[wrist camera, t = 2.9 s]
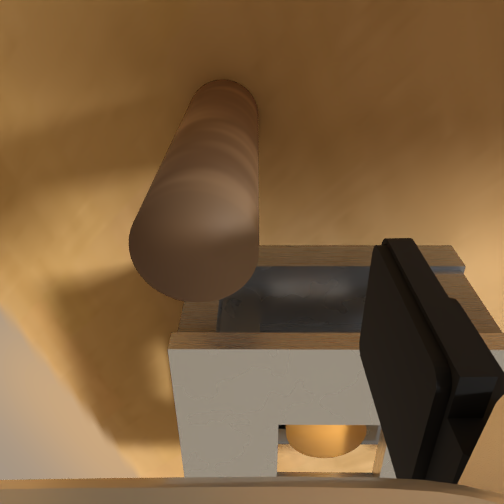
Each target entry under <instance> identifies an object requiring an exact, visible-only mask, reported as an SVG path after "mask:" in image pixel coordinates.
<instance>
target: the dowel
mask: <svg viewBox="0 0 504 504" xmlns="http://www.w3.org/2000/svg"><path fill="white" fill-rule="evenodd" d="M129 251H130V256H131V259H132V262H133V264H134V266H135V268H136V270H137V271H138V273H139V274H140V275H141V277H142V278H143V279H144V280H145V281H146V282H147V283H148V284H149V285H150V286H152V287H153V288H154V289H156V290H157V291H159V292H160V293H162V294H164V295H166V296H168V297H171V298H174V299H177V300H181V301H186V302H196V303H201V302H211V301H216V300H219V299H222V298H225V297H227V296H230V295H231V294H233V293H235V292H236V291H238V290H239V289H241V288H242V287H243V286H244V285H245V284H246V283H247V282H248V280H249V279H250V278H251V276H252V274H253V273H254V271H255V268H256V266H257V262H258V258H259V152H258V109H257V105H256V102H255V100H254V98H253V96H252V95H251V94H250V92H249V91H248V90H247V89H246V88H245V87H243V86H242V85H240V84H238V83H236V82H233V81H229V80H216V81H212V82H209V83H207V84H205V85H204V86H202V87H201V88H200V89H199V90H198V91H197V92H196V94H195V95H194V97H193V98H192V101H191V103H190V105H189V107H188V109H187V111H186V113H185V115H184V117H183V119H182V122H181V124H180V126H179V128H178V130H177V132H176V134H175V136H174V138H173V140H172V143H171V145H170V147H169V149H168V151H167V153H166V155H165V157H164V159H163V161H162V164H161V166H160V168H159V170H158V172H157V174H156V176H155V178H154V180H153V182H152V185H151V187H150V189H149V191H148V193H147V195H146V197H145V199H144V201H143V203H142V206H141V208H140V210H139V212H138V214H137V216H136V218H135V220H134V222H133V225H132V227H131V231H130V235H129Z"/></svg>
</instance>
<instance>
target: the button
mask: <svg viewBox="0 0 504 504" xmlns="http://www.w3.org/2000/svg"><path fill="white" fill-rule="evenodd" d="M366 431H367V428H366V425H286V437H287V440H288V442H289V444H290V445H291V446H292V447H293V448H294V449H295V450H296V451H298V452H300V453H302V454H304V455H307V456H311V457H317V458H330V457H336V456H340V455H344V454H346V453H348V452H350V451H352V450H354V449H355V448H357V447H358V446H359V445H360V444H361V443H362V441H363V440H364V438H365V436H366Z"/></svg>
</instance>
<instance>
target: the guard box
mask: <svg viewBox="0 0 504 504" xmlns="http://www.w3.org/2000/svg"><path fill="white" fill-rule="evenodd" d="M417 247H418V248H419V250H420V252H421V253H422V255H423V256H424V258H425V260H426V261H427V263H428V264H429V266H430V268H431V269H432V271H433V273H434V274H435V276H436V277H437V279H438V281H439V282H440V284H441V285H442V287H443V289H444V290H445V292H446V293H447V295H448V297H449V298H454V299H456V300H457V301H458V302H459V303H460V304H461V306H462V308H463V309H464V311H465V312H466V314H467V315H468V317H469V318H470V320H471V322H472V323H473V325H474V326H475V328H476V329H477V331H478V332H479V334H480V336H481V337H482V339H483V340H484V342H485V343H486V345H487V346H488V348H489V350H490V351H491V353H492V354H493V356H494V357H495V359H496V361H497V362H498V364H499V365H500V367H501V368H502V370H503V371H504V333H502V331H501V330H500V328H499V327H498V325H497V324H496V322H495V321H494V319H493V318H492V316H491V315H490V313H489V312H488V310H487V309H486V307H485V306H484V304H483V303H482V301H481V300H480V298H479V297H478V295H477V294H476V292H475V291H474V289H473V288H472V286H471V284H470V283H469V281H468V280H467V278H466V277H465V275H464V270H465V265H464V263H463V262H462V260H461V259H460V257H459V256H458V255H457V253H456V252H455V250H454V249H453V247H452V246H417ZM373 248H374V246H259V258H258V262H257V266H256V268H255V271H254V273H253V274H252V276H251V278H250V279H249V280H248V282H247V283H246V284H245V285H244V286H243V287H242V288H241V289H239V290H238V291H236V292H235V293H233V294H231V295H230V296H227V297H225V298H222V299H219V300H216V301H211V302H201V303H196V302H186V301H184V305H183V309H182V314H181V319H180V323H179V328H178V332H171V337H170V341H169V345H168V356H169V363H170V371H171V378H172V386H173V394H174V401H175V409H176V416H177V424H178V431H179V439H180V446H181V454H182V461H183V469H184V476H185V477H378V478H396V475H395V472H394V468H393V465H392V462H391V458H390V455H389V451H388V448H387V445H386V441H385V438H384V435H383V431H382V428H381V425H380V421H379V418H378V414H377V411H376V408H375V404H374V401H373V398H372V394H371V391H370V388H369V384H368V381H367V378H366V374H365V371H364V367H363V364H362V361H361V357H360V351H359V339H360V333H361V326H362V319H363V312H364V305H365V299H366V292H367V285H368V278H369V271H370V265H371V258H372V251H373ZM286 425H366V428H367V431H366V436H365V438H364V440H363V441H362V443H361V444H378V447H377V452H376V457H375V461H374V466H373V471H372V473H321V472H277V452H278V444H289V442H288V440H287V437H286Z"/></svg>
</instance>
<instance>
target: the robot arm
mask: <svg viewBox="0 0 504 504" xmlns="http://www.w3.org/2000/svg"><path fill="white" fill-rule="evenodd" d="M359 351H360V357H361V361H362V364H363V367H364V371H365V374H366V378H367V381H368V384H369V388H370V391H371V394H372V398H373V401H374V404H375V408H376V411H377V414H378V418H379V421H380V425H381V428H382V431H383V435H384V438H385V441H386V445H387V448H388V451H389V455H390V458H391V462H392V465H393V468H394V472H395V475H396V478H378V477H183V478H97V479H96V478H95V479H28V480H0V504H504V371H503V370H502V368H501V367H500V365H499V364H498V362H497V361H496V359H495V357H494V356H493V354H492V353H491V351H490V350H489V348H488V346H487V345H486V343H485V342H484V340H483V339H482V337H481V336H480V334H479V332H478V331H477V329H476V328H475V326H474V325H473V323H472V322H471V320H470V318H469V317H468V315H467V314H466V312H465V311H464V309H463V308H462V306H461V304H460V303H459V302H458V301H457V300H456V299H454V298H449V297H448V295H447V293H446V292H445V290H444V289H443V287H442V285H441V284H440V282H439V281H438V279H437V277H436V276H435V274H434V273H433V271H432V269H431V268H430V266H429V264H428V263H427V261H426V260H425V258H424V256H423V255H422V253H421V252H420V250H419V248H418V247H417V245H416V244H415V242H414V240H413V239H411V238H392V239H384V240H383V242H382V244H381V245H375V246H374V248H373V251H372V258H371V265H370V271H369V278H368V285H367V292H366V299H365V305H364V312H363V319H362V326H361V333H360V339H359Z"/></svg>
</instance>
